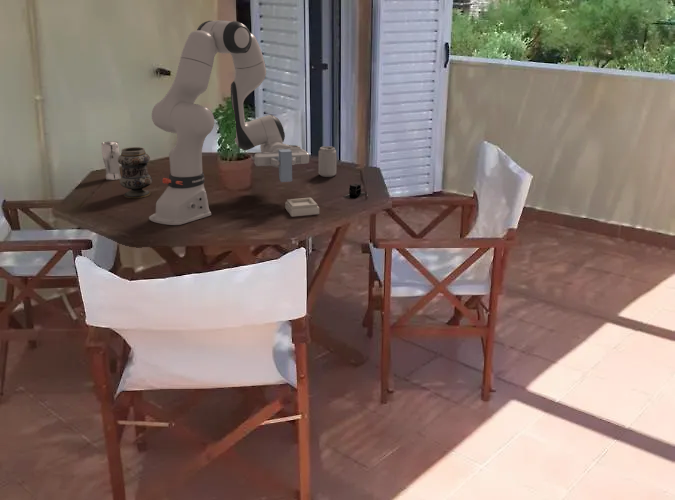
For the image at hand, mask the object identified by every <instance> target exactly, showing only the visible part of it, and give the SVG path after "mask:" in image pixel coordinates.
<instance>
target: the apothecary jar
mask: <svg viewBox="0 0 675 500" xmlns="http://www.w3.org/2000/svg"><path fill="white" fill-rule="evenodd" d="M150 159H151V158H150V156H149V154H148V153H146V149H145V148H144V147H141V146H131V147H130V146H129V147H124V148H122V149H121V153H120V156H119V157H118V162H119V165H121V172H122V173H121V175H122V176H121V178H120V179H119V184H120V185H121V186H122V187H123V188H125V189H129V190H128V191H127V192H125V193H124V197H125V198H127V199H140V198H141V199H142V198H146V197H149V196H150V195H151V193H152V192H151V191H149V190H146V189H144V188H147V187H149V186H150V185H151V184H152V182H153V178H152V176H151V175H150V174H149V171H148V170H149V169H148V163H149V162H150V161H151V160H150Z"/></svg>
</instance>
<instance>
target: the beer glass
mask: <svg viewBox="0 0 675 500" xmlns="http://www.w3.org/2000/svg"><path fill="white" fill-rule="evenodd" d="M101 154H102V160H103V163H104V168H105V179H106V180H107V181H118V180H120V178H121V177H122V176H121V175H122V174H121V172H120V164H119V162H118V157H119V156H120V155H121V153H120V146H119V141H115V140H113V141H111V140H110V141H103V142H101Z"/></svg>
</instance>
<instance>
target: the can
mask: <svg viewBox="0 0 675 500" xmlns="http://www.w3.org/2000/svg"><path fill="white" fill-rule="evenodd" d="M318 174H319V175H320V176H321V177H324V178H332V177H335V175H337V150H336V148H335V147H334V146H332V145H331V146H330V145H329V146H328V145H327V146H321V147H319V150H318Z"/></svg>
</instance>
